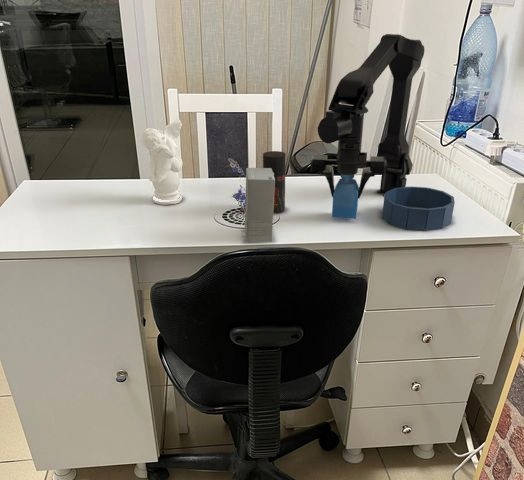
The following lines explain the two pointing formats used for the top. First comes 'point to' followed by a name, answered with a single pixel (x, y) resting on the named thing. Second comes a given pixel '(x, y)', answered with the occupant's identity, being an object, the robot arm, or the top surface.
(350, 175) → the perfume bottle
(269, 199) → the cosmetic box
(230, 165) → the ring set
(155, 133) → the cherub figurine
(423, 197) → the blue round bin
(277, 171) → the deodorant
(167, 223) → the top surface
